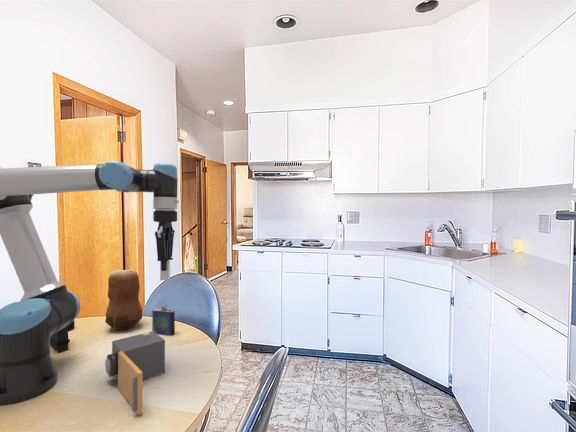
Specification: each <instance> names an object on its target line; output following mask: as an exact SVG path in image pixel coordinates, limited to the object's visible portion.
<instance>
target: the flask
mask: <svg viewBox="0 0 576 432" xmlns="http://www.w3.org/2000/svg"><path fill="white" fill-rule="evenodd" d="M166 306H167V304H165V305H164V304H163V305H161V306H160V308H154V309H152V310H151V311H152V313H151V314H152V320H151V322H152V326H151V329H152V330H151V331H153V332H155V333H156V334H157V335H159V334H162V335H163V336H169V337H170V336H171V337H172V336H174V334H175V335H176V333H175V332H176V330H175V329H176V327H175V326H176V323H175V321H176V320H175V310H174V309H171V308H169V309H168V307H166ZM162 335H161V336H162Z"/></svg>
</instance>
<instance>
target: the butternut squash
mask: <svg viewBox="0 0 576 432" xmlns="http://www.w3.org/2000/svg"><path fill="white" fill-rule="evenodd" d="M139 278H140V276H139V273H138V272H137V271H136V270H135V269H117V270H113V271H112V272H111V273H110V274H109V276H108V278H107V279H108V280H107V281H108V282H107V283H108V285H107V286H108V288H107V289H108V290H107V298H108V300H109V301H108V302H109V303H108V304H107V308H106V312H105V321H104V322H105V323H106V324H107V325H108V326H110V328H112V329H115V330H129V329H132V328H133V327H134V326H136V325H137V324H138V323H140V321H141V319H142V318H143V308H142V304H141V302H140V300H139V297H140V296H139V295H140V279H139Z"/></svg>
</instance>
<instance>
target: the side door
mask: <svg viewBox="0 0 576 432" xmlns="http://www.w3.org/2000/svg"><path fill="white" fill-rule="evenodd" d="M142 373H143V372H142V371H141V370H140V369H139V368H138V367H137V366H136V365H135V364H134V363H133V362H132V361H131V360H130V359H129V358H128V357H127V356H126V355H125V354H124V352H123V351H120V352H118V382H117V388H118V390H119V392H120V393H121V394H122V396H123V397H124V398H125V400H126V401H127V402H128V403H129V405H130V406H131V408H132V409H131V410H132V412H135V413H136V414H137V416H139V415H143V380H142Z"/></svg>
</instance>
